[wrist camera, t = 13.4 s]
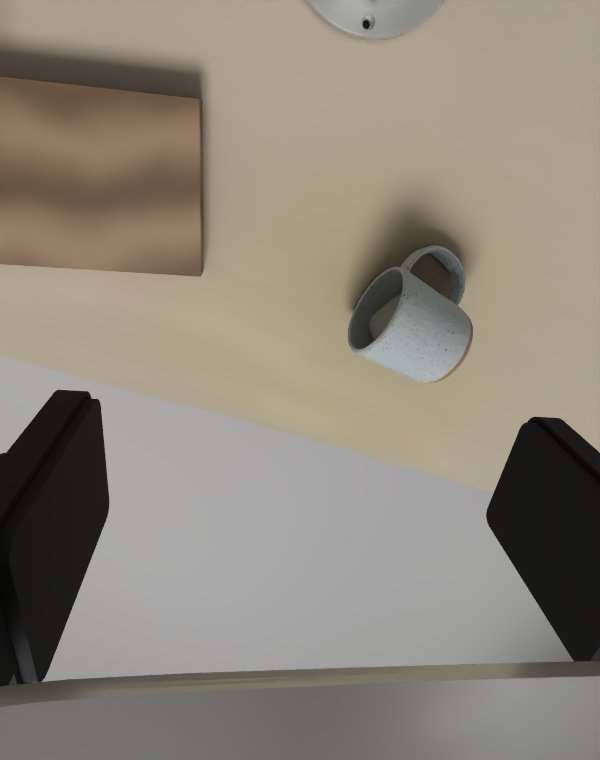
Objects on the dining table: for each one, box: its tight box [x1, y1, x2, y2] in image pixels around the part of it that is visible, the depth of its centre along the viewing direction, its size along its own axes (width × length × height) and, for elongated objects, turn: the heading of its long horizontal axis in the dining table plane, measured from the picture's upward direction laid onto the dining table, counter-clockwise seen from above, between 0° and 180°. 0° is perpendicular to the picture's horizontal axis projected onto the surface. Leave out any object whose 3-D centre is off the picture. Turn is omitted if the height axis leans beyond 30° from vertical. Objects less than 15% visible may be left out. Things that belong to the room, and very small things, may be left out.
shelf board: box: [0, 77, 203, 277], centre depth 31 cm, size 12×24×4 cm, turn 85°
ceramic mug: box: [348, 245, 473, 383], centre depth 37 cm, size 11×8×8 cm
